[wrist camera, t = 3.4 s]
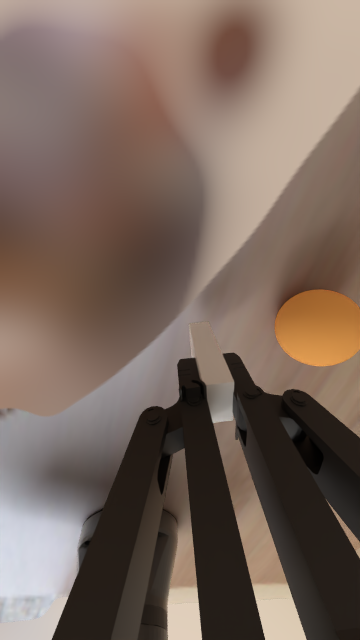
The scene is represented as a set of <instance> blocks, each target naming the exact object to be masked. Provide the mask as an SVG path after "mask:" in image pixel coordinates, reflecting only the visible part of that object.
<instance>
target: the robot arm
mask: <svg viewBox="0 0 360 640" xmlns="http://www.w3.org/2000/svg"><path fill="white" fill-rule="evenodd" d="M189 332H190V345H191V355H192V358H187V359H180V360H179V362H178V364H177V367H178V378H179V395H180V397H179V400H178V401H177V403H176V404H174V405H173V406H171V407H169V408H167V409H165V410H164V409H163V408H162V407H158V406H153V407H150V408H147V409H146V410H144V411H143V412H142V414H141V415H140V417H139V420H138V422H137V425H136V427H135V430H134V432H133V435H132V437H131V440H130V442H129V445H128V447H127V450H126V452H125V455H124V458H123V460H122V463H121V465H120V468H119V470H118V473H117V475H116V478H115V480H114V483H113V485H112V488H111V491H110V493H109V496H108V498H107V501H106V503H105V506H104V508H103V511H101V512H98V513H96V514H94V515H93V516H91V517H90V518H89V519H88V520H87V521H86V522H85V523H84V525H83V528H82V531H81V535H80V539H79V543H78V549H77V577H76V579H75V582H74V584H73V587H72V589H71V592H70V595H69V597H68V600H67V602H66V605H65V607H64V610H63V612H62V615H61V617H60V620H59V622H58V625H57V628H56V630H55V633H54V635H53V638H52V640H168V632H167V603H168V595H169V589H170V584H171V578H172V572H173V567H174V561H175V555H176V550H177V542H178V537H177V522H176V520H175V518H174V517H173V516H172V515H171V514H169V513H168V512H166V511H164V510H163V504H164V499H165V494H166V489H167V484H168V478H169V473H170V468H171V463H172V458H173V454H174V453H176V452H178V451H180V450H182V449H184V448H185V458H186V468H187V479H188V490H189V501H190V512H191V523H192V534H193V545H194V555H195V566H196V577H197V588H198V599H199V610H200V620H201V631H202V640H265V637H264V633H263V629H262V625H261V621H260V616H259V612H258V608H257V604H256V600H255V596H254V591H253V587H252V583H251V579H250V575H249V571H248V567H247V562H246V558H245V554H244V550H243V546H242V542H241V538H240V533H239V529H238V525H237V521H236V517H235V513H234V509H233V504H232V500H231V496H230V492H229V488H228V484H227V480H226V475H225V471H224V467H223V463H222V459H221V455H220V451H219V446H218V442H217V438H216V434H215V430H214V426H213V423H217V422H225V421H233V415H234V418H235V420H236V430H235V438H236V440H238V437H239V440H240V443H241V446H242V449H243V452H244V455H245V458H246V461H247V464H248V467H249V470H250V473H251V476H252V479H253V482H254V485H255V488H256V491H257V493H258V496H259V499H260V502H261V505H262V508H263V511H264V514H265V517H266V520H267V523H268V526H269V529H270V532H271V535H272V538H273V541H274V544H275V547H276V550H277V553H278V556H279V559H280V562H281V565H282V568H283V571H284V574H285V576H286V579H287V582H288V585H289V588H290V591H291V594H292V597H293V600H294V603H295V606H296V609H297V612H298V615H299V618H300V621H301V624H302V627H303V630H304V632H305V636H306V639H307V640H360V558H359V557H358V555H357V553H356V551H355V550H354V548H353V546H352V544H351V543H350V541H349V539H348V537H347V536H346V534H345V532H344V530H343V529H342V527H341V525H340V523H339V522H338V520H337V518H336V516H335V515H334V513H333V511H332V509H331V508H330V506H329V504H330V505H331V506H332V507H333V509H334V510H335V511H336V512H337V514H338V515H339V516H340V518H341V519H342V520H343V521H344V523H345V524H346V525H347V526H348V528H349V529H350V530H351V531H352V533H353V534H354V535H355V536H356V538H357V539H358V540H359V541H360V438H359V437H358V436H357V435H356V434H355V433H353V432H352V431H351V430H350V429H349V428H347V427H346V426H345V425H344V424H343V423H342V422H340V421H339V420H338V419H337V418H336V417H334V416H333V415H332V414H331V413H330V412H329V411H327V410H326V409H325V408H324V407H323V406H322V405H320V404H319V403H318V402H317V401H316V400H314V399H313V398H312V397H311V396H310V395H308V394H307V393H305V392H303V391H300V390H295V389H291V390H287V391H285V392H284V394H283V396H279V395H272V394H268V393H265V392H264V391H263V390H262V389H261V388H260V387H258V386H256V385H255V384H254V382H253V380H252V378H251V377H250V375H249V373H248V371H247V369H246V368H245V366H244V364H243V362H242V360H241V358H240V357H239V356H238V355H237V354H235V353H226V354H222V352H221V350H220V347H219V345H218V343H217V340H216V338H215V336H214V334H213V331H212V329H211V327H210V324H209V322H199V323H190V324H189ZM326 500H327V501H328V502H329V504H328V502H327V501H326Z"/></svg>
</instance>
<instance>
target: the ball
mask: <svg viewBox="0 0 360 640" xmlns="http://www.w3.org/2000/svg"><path fill="white" fill-rule="evenodd" d="M275 334H276V338H277V340H278V342H279V344H280V346H281V347H282V349H283V350H284V351H285V352H286V353H287V354H288V355H289V356H291V357H292V358H294V359H295V360H297V361H299V362H302V363H305V364H308V365H313V366H331V365H335V364H339V363H341V362H344V361H346V360H348V359H349V358H351V357H352V356H353V355H355V354H356V353H357V352H358V350H359V349H360V308H359V307H358V305H357V304H356V303H355V302H354V301H352V300H351V299H350V298H348V297H347V296H345V295H343V294H340V293H338V292H335V291H330V290H322V289H320V290H309V291H305V292H302V293H299V294H297V295H295V296H293V297H292V298H290V299H289V300H288V301H287V302H285V304H284V305H283V306H282V307H281V308H280V310H279V312H278V314H277V317H276V320H275Z"/></svg>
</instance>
